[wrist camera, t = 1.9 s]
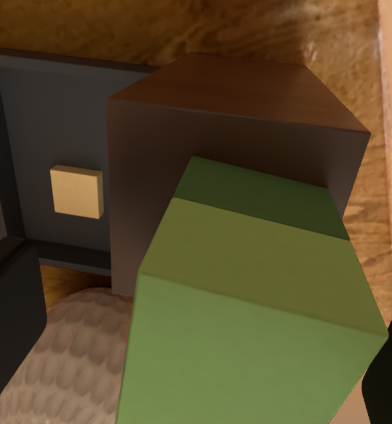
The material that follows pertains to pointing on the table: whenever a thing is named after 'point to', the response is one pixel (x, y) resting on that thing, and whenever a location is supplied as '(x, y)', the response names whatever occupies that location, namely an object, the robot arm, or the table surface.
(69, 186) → the tan square tile
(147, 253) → the sponge
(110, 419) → the vase
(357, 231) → the table surface
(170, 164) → the stand
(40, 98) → the pan
